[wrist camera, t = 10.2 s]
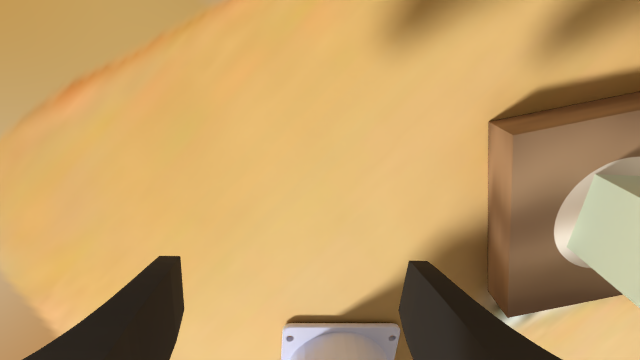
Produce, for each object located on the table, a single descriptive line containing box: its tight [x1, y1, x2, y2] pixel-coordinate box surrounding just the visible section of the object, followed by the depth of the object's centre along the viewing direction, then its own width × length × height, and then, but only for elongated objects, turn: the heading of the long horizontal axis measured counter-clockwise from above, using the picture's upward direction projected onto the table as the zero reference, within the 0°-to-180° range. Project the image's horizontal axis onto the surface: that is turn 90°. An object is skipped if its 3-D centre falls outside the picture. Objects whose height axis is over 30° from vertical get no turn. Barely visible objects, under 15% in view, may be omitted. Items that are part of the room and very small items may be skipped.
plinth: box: [488, 92, 640, 318], centre depth 22 cm, size 12×12×2 cm
